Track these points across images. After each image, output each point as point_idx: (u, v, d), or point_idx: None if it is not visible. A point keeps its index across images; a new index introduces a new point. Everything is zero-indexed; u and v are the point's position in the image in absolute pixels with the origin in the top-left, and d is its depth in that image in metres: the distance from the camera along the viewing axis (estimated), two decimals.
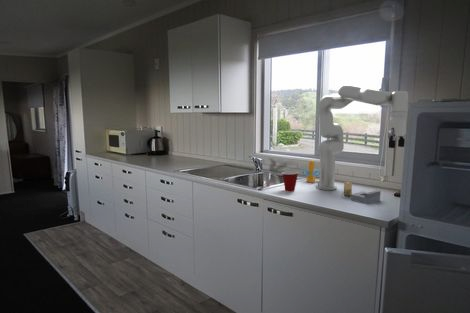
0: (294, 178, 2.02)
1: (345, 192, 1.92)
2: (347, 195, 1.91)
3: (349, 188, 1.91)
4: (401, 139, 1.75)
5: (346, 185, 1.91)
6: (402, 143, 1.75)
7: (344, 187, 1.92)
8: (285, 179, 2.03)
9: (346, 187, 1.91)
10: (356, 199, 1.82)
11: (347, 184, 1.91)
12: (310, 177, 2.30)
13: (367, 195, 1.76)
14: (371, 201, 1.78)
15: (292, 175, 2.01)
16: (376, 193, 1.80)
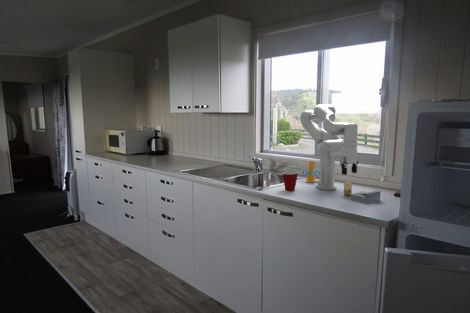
0: (294, 178, 2.02)
1: (345, 192, 1.92)
2: (347, 195, 1.91)
3: (349, 188, 1.91)
4: (354, 166, 1.93)
5: (346, 185, 1.91)
6: (355, 169, 1.93)
7: (344, 187, 1.92)
8: (285, 179, 2.03)
9: (346, 187, 1.91)
10: (356, 199, 1.82)
11: (347, 184, 1.91)
12: (310, 177, 2.30)
13: (367, 195, 1.76)
14: (371, 201, 1.78)
15: (292, 175, 2.01)
16: (376, 193, 1.80)
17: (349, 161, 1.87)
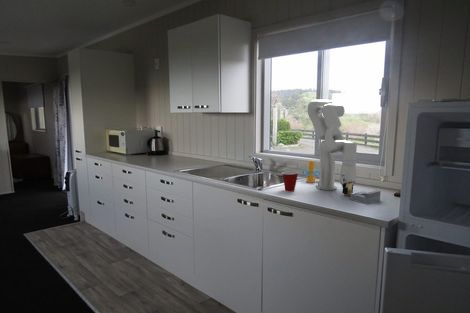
0: (294, 178, 2.02)
1: None
2: (347, 195, 1.91)
3: (349, 188, 1.91)
4: None
5: None
6: None
7: None
8: (285, 179, 2.03)
9: None
10: (356, 199, 1.82)
11: None
12: (310, 177, 2.30)
13: (367, 195, 1.76)
14: (371, 201, 1.78)
15: (292, 175, 2.01)
16: (376, 193, 1.80)
17: (348, 179, 1.88)
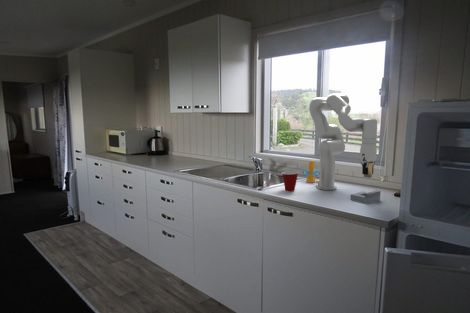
0: (294, 178, 2.02)
1: None
2: (367, 176, 1.80)
3: (370, 168, 1.79)
4: None
5: None
6: None
7: None
8: (285, 179, 2.03)
9: None
10: (356, 199, 1.82)
11: None
12: (310, 177, 2.30)
13: (367, 195, 1.76)
14: (371, 201, 1.78)
15: (292, 175, 2.01)
16: (376, 193, 1.80)
17: (368, 159, 1.77)
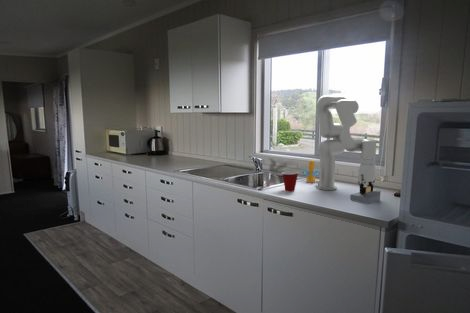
0: (294, 178, 2.02)
1: None
2: None
3: None
4: (370, 184, 1.85)
5: None
6: (371, 189, 1.84)
7: None
8: (285, 179, 2.03)
9: (365, 191, 1.81)
10: (356, 199, 1.82)
11: (366, 188, 1.81)
12: (310, 177, 2.30)
13: (367, 195, 1.76)
14: (371, 201, 1.78)
15: (292, 175, 2.01)
16: (376, 193, 1.80)
17: (367, 179, 1.79)
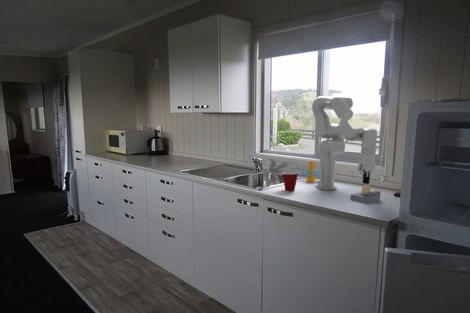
0: (294, 178, 2.02)
1: None
2: None
3: None
4: None
5: (365, 189, 1.81)
6: None
7: (362, 191, 1.83)
8: (285, 179, 2.03)
9: (365, 191, 1.81)
10: (356, 199, 1.82)
11: (366, 188, 1.81)
12: (310, 177, 2.30)
13: (367, 195, 1.76)
14: (371, 201, 1.78)
15: (292, 175, 2.01)
16: (376, 193, 1.80)
17: (367, 169, 1.78)
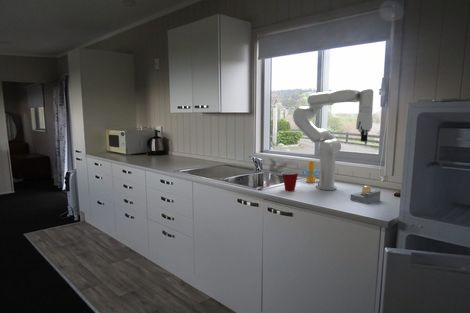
0: (294, 178, 2.02)
1: None
2: None
3: None
4: None
5: (365, 189, 1.81)
6: None
7: (363, 191, 1.83)
8: (285, 179, 2.03)
9: (365, 191, 1.81)
10: (356, 199, 1.82)
11: (366, 188, 1.81)
12: (310, 177, 2.30)
13: (367, 195, 1.76)
14: (371, 201, 1.78)
15: (292, 175, 2.01)
16: (376, 193, 1.80)
17: (364, 126, 1.89)
